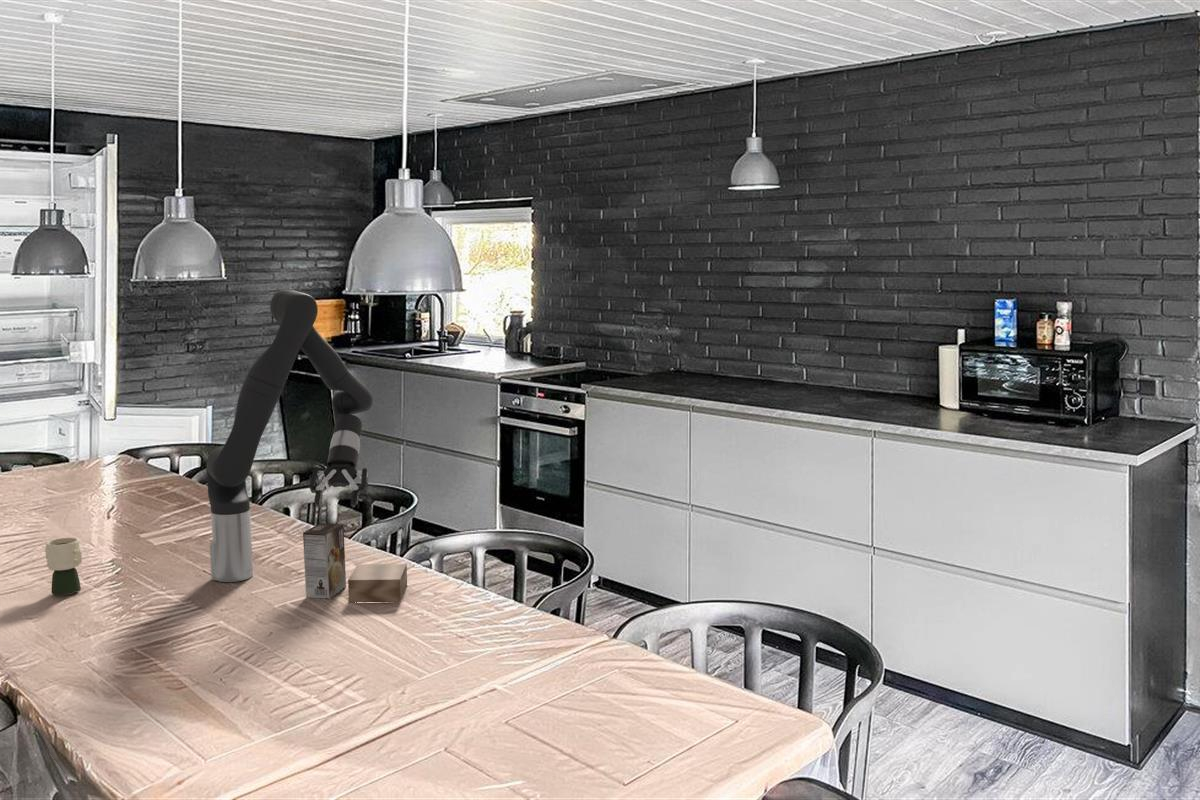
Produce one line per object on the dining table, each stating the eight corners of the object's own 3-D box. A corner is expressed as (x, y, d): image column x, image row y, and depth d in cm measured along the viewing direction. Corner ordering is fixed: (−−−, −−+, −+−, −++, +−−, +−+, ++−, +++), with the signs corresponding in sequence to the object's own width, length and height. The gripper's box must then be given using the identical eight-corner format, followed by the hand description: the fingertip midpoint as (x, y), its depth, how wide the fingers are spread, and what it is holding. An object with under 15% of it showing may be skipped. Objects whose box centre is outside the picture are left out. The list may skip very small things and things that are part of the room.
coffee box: (322, 585, 256) (320, 522, 254) (346, 587, 255) (344, 523, 253) (304, 597, 247) (302, 532, 245) (329, 599, 246) (327, 533, 244)
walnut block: (348, 604, 243) (348, 580, 242) (357, 588, 255) (357, 564, 254) (400, 604, 244) (400, 579, 243) (407, 587, 256) (406, 563, 255)
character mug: (95, 591, 251) (92, 539, 249) (71, 600, 245) (67, 547, 243) (61, 586, 255) (57, 535, 253) (36, 595, 248) (32, 542, 247)
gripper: (313, 443, 267) (303, 498, 258) (369, 443, 268) (361, 497, 258) (319, 460, 273) (310, 513, 264) (373, 459, 274) (366, 513, 264)
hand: (335, 505), depth 261 cm, fingers open, 8 cm apart
